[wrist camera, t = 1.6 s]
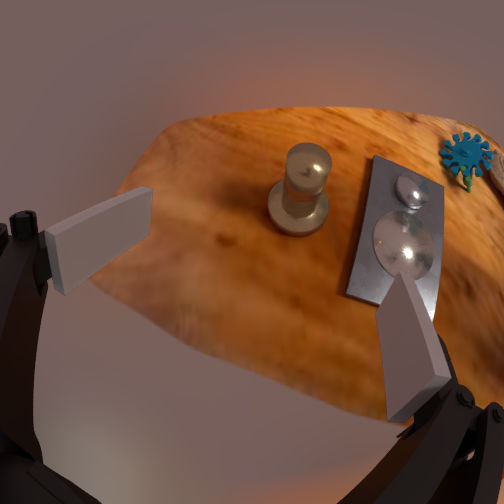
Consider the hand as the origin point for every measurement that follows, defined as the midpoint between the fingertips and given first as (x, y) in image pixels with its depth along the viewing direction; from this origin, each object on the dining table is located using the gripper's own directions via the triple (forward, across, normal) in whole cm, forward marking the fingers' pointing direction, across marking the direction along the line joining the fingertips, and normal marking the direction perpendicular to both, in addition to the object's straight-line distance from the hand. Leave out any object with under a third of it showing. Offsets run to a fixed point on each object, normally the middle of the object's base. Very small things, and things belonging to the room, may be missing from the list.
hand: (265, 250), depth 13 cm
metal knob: (+20, 0, -4) cm, 20 cm away
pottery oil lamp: (+35, +37, +11) cm, 52 cm away
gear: (+33, +25, +10) cm, 42 cm away
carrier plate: (+21, +14, -2) cm, 26 cm away
